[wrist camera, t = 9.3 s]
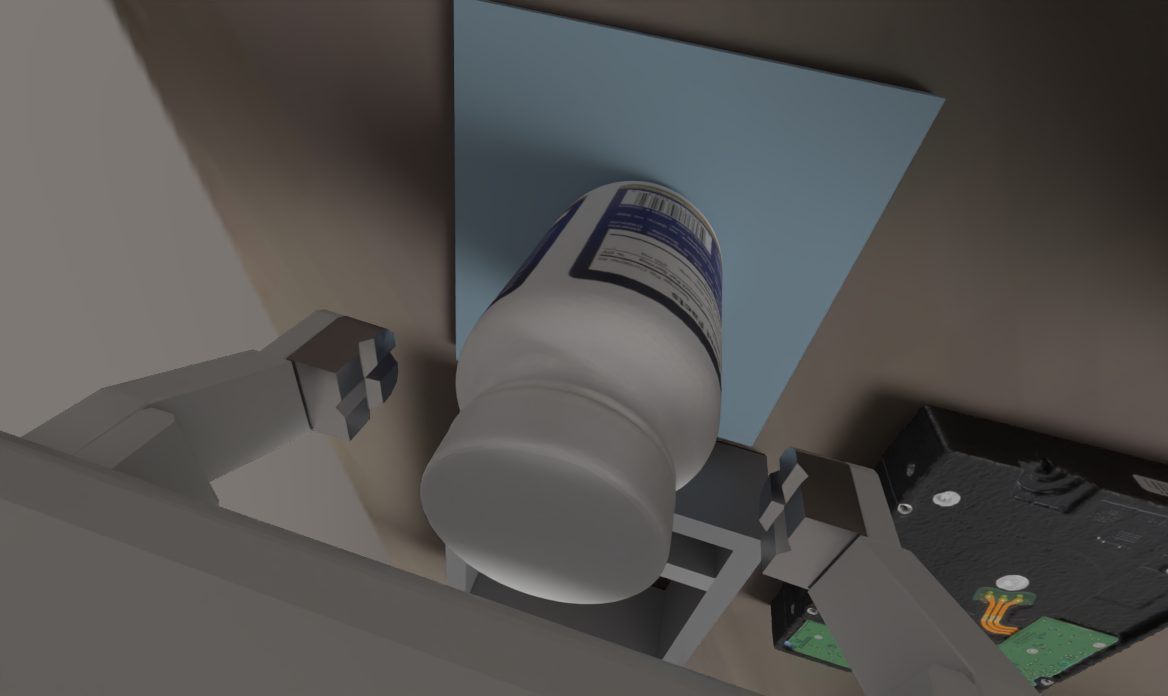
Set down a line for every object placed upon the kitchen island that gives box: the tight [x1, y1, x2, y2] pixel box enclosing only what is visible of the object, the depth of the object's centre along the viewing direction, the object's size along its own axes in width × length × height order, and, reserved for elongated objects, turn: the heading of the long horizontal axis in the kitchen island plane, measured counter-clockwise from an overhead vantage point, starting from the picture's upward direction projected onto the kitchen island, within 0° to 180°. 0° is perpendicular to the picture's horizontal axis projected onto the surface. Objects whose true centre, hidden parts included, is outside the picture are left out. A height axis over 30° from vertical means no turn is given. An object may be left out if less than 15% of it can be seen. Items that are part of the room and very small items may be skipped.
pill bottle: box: [420, 181, 723, 604], centre depth 11 cm, size 5×5×10 cm
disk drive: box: [771, 406, 1168, 693], centre depth 19 cm, size 10×3×15 cm
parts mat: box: [454, 0, 946, 447], centre depth 15 cm, size 12×12×1 cm
